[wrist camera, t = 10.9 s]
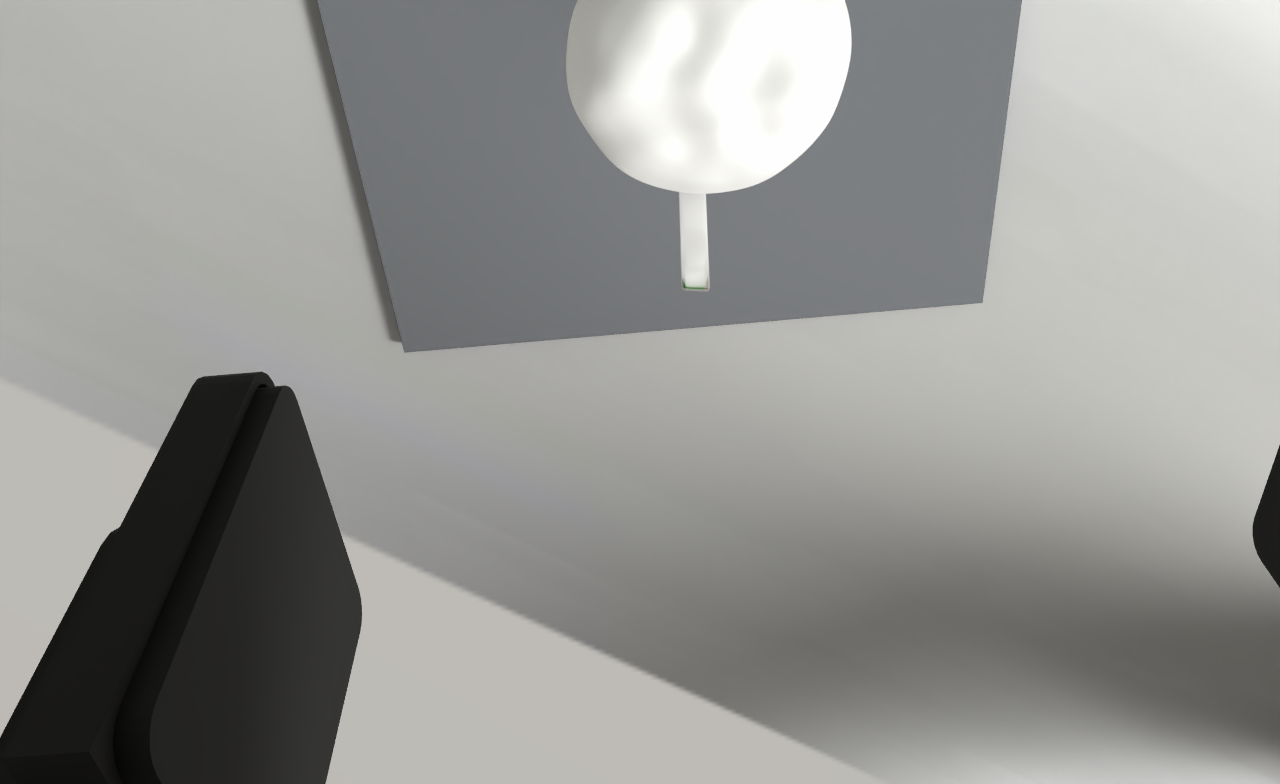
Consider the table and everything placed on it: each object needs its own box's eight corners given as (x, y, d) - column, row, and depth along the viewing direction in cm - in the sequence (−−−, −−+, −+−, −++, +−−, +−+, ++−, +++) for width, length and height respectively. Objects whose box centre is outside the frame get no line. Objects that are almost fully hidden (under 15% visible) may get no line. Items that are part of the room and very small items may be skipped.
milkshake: (564, 64, 26) (553, 282, 17) (578, -191, 22) (573, -69, 14) (755, 80, 26) (831, 300, 18) (795, -169, 23) (910, -38, 15)
